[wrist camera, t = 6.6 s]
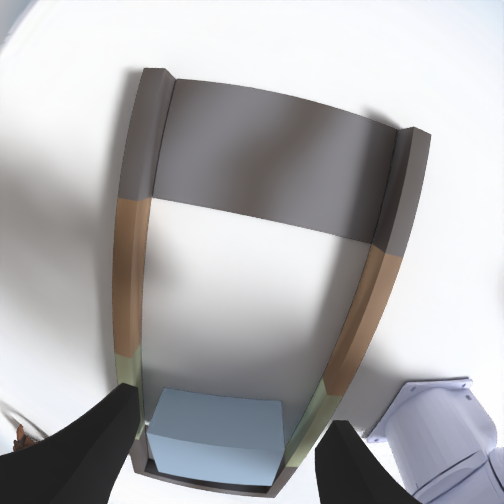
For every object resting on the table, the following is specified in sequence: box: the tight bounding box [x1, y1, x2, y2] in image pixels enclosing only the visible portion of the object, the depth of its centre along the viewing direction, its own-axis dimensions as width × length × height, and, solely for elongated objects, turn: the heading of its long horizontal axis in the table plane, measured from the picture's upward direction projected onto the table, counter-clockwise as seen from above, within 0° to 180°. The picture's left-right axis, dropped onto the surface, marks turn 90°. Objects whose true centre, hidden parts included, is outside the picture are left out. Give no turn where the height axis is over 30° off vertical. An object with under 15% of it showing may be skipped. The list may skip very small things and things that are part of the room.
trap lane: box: [112, 68, 431, 498], centre depth 17 cm, size 15×35×2 cm, turn 168°
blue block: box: [146, 387, 285, 486], centre depth 18 cm, size 9×6×5 cm, turn 85°
